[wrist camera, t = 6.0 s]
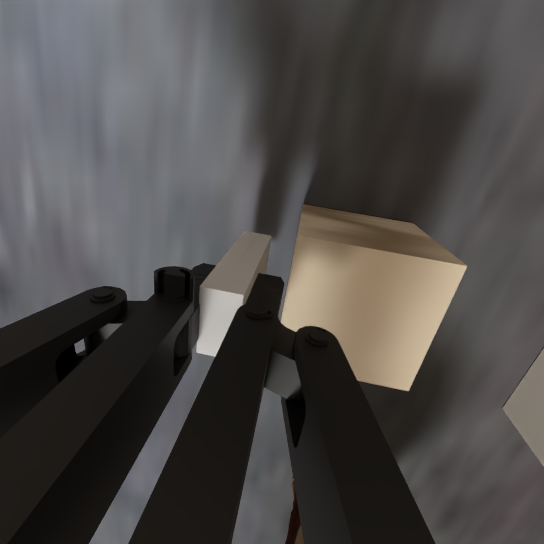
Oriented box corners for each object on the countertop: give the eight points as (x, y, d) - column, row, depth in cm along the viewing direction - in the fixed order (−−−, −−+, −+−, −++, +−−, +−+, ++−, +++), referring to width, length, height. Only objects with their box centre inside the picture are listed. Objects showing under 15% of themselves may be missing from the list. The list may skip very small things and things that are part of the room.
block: (285, 298, 18) (273, 362, 13) (303, 204, 16) (297, 235, 10) (379, 316, 18) (408, 391, 13) (413, 223, 16) (467, 266, 10)
